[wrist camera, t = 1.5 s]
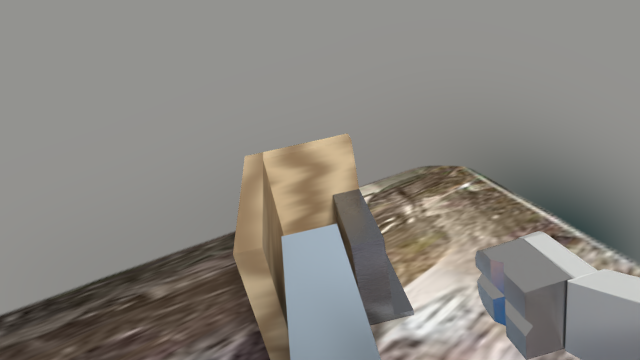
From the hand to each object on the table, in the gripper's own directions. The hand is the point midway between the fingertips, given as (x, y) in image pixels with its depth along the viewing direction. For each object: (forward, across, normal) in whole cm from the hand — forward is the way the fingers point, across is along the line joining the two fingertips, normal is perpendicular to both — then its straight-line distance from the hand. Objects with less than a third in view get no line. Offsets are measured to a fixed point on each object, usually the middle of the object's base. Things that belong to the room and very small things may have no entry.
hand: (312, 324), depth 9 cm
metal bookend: (+27, -5, +23) cm, 36 cm away
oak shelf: (+25, 0, +23) cm, 34 cm away
